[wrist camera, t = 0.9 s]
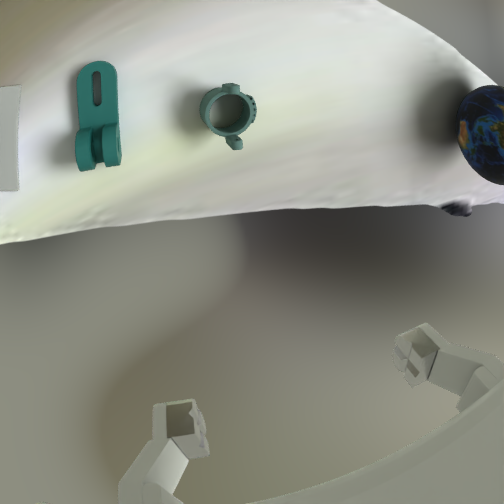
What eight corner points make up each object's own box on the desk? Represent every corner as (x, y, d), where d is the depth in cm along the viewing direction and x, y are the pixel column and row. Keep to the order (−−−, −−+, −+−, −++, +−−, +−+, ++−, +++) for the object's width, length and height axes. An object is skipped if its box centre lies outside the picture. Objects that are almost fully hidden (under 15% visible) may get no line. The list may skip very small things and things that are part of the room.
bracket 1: (121, 155, 48) (119, 171, 42) (86, 161, 45) (79, 178, 40) (117, 58, 37) (112, 58, 31) (78, 64, 34) (67, 66, 29)
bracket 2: (223, 139, 53) (237, 154, 46) (188, 108, 47) (197, 119, 40) (257, 106, 51) (277, 116, 44) (224, 73, 45) (240, 77, 38)
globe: (491, 104, 68) (557, 140, 46) (460, 169, 82) (524, 215, 60) (460, 54, 53) (547, 88, 31) (424, 133, 67) (510, 185, 45)
